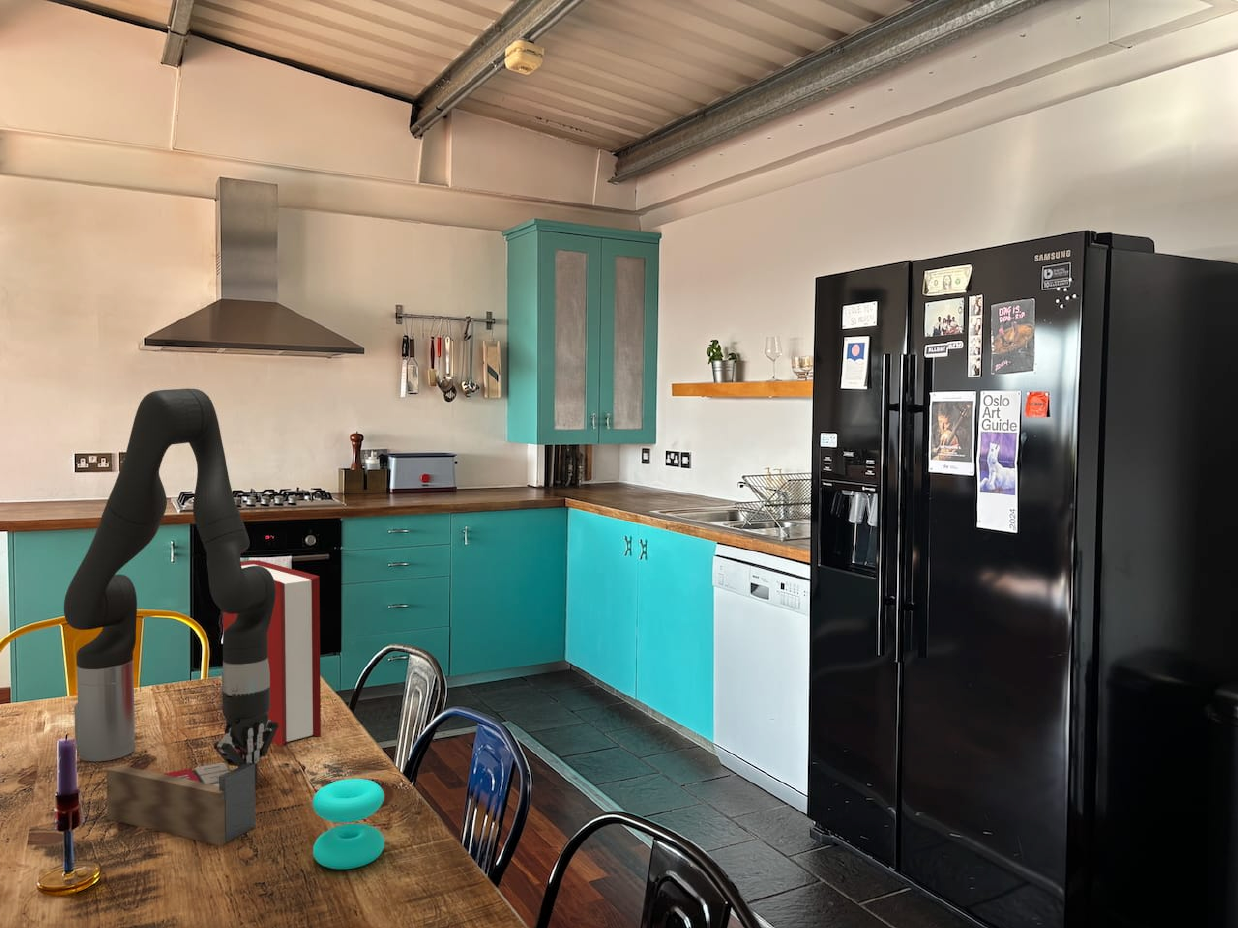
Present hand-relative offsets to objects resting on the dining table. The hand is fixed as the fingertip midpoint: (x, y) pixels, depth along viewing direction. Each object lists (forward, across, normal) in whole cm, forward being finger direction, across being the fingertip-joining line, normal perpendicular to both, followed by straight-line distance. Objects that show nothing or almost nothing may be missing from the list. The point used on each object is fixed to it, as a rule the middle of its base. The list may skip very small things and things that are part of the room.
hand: (248, 785), depth 160 cm
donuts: (+1, +13, +31) cm, 33 cm away
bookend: (+1, +14, +11) cm, 17 cm away
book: (+1, -27, -20) cm, 33 cm away
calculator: (+1, +6, -4) cm, 8 cm away
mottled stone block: (+1, +14, 0) cm, 14 cm away
